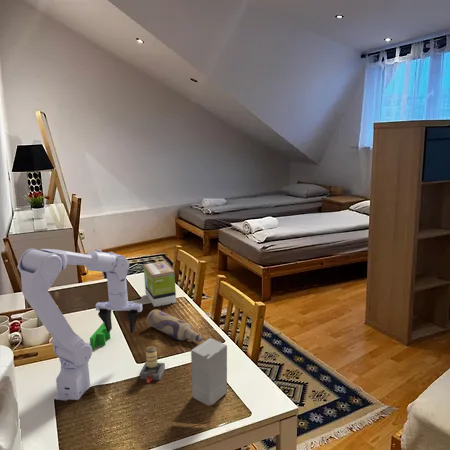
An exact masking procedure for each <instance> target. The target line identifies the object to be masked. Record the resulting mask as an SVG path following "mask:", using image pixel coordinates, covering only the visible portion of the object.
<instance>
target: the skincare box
mask: <svg viewBox="0 0 450 450" xmlns="http://www.w3.org/2000/svg"><path fill="white" fill-rule="evenodd" d="M190 354H191V355H190V356H191V357H190V359H191V360H190V361H191V362H190V363H191V384H192V385H191V389H192V390H191V391H192V393H191V395H192V398H193V399H195V400H197V401H199V402H200V403H202V404H204V405H206V406H208V407H209V406H213V405H214V404H215V403H216V402H218V401H219V400H220V399H221V398H222V397H224V395H226V394H227V393H228V385H227V384H228V345H227V344H225V343H223V342H220V341H218V340H216V339H215V338H213V337H209V338H208V339H206V340H205V341H203V342H200V344H198V345H197V346H195V347H193V348H192V349H191V350H190Z"/></svg>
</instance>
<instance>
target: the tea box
mask: <svg viewBox="0 0 450 450" xmlns="http://www.w3.org/2000/svg"><path fill="white" fill-rule="evenodd" d="M143 275H144V276H143V277H144V288H145V289H144V290H145V295H146V297H147V299H149V301H150V302H151V304H152V306H153V307H155V308H156V306H157V307H162V306H165V305H171V303H172V304H175V303H177V295H176V294H177V293H176V291H177V290H176V277H175V276H176V275H175V270H173V269H172V268H171V266H170V265H169V264H168V263H167V262H166V261H165V260H161V261H157V262H151V263H146V264H143ZM161 305H162V306H161Z"/></svg>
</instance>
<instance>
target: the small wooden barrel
mask: <svg viewBox="0 0 450 450" xmlns="http://www.w3.org/2000/svg"><path fill="white" fill-rule="evenodd" d="M157 350H158V349H157V347H156V346H153V345H150V346H147V347H146V348H145V357H146V358H145V363H147V367H150V368H152V367H156V366H157V363H158V352H157Z"/></svg>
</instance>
